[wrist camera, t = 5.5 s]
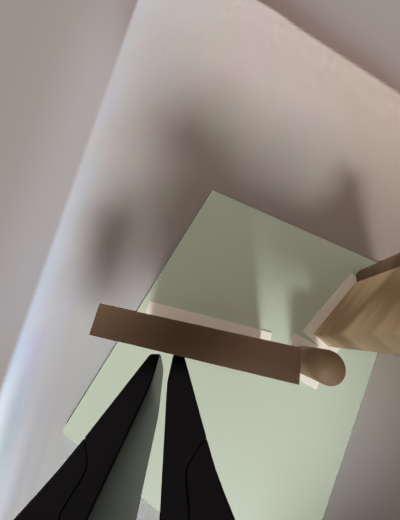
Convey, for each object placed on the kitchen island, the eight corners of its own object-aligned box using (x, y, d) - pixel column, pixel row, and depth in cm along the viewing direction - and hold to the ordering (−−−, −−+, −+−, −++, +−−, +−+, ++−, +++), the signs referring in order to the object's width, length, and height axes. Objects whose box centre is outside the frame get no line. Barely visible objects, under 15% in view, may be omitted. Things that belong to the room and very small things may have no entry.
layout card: (399, 275, 17) (404, 273, 17) (287, 609, 12) (290, 620, 12) (212, 192, 21) (212, 189, 20) (65, 429, 16) (60, 432, 15)
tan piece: (386, 280, 17) (548, 229, 9) (307, 381, 15) (413, 436, 7) (364, 264, 17) (497, 201, 9) (284, 360, 16) (359, 389, 7)
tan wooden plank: (262, 341, 16) (302, 347, 8) (259, 360, 15) (299, 384, 8) (151, 316, 17) (99, 303, 9) (146, 333, 16) (89, 334, 9)
